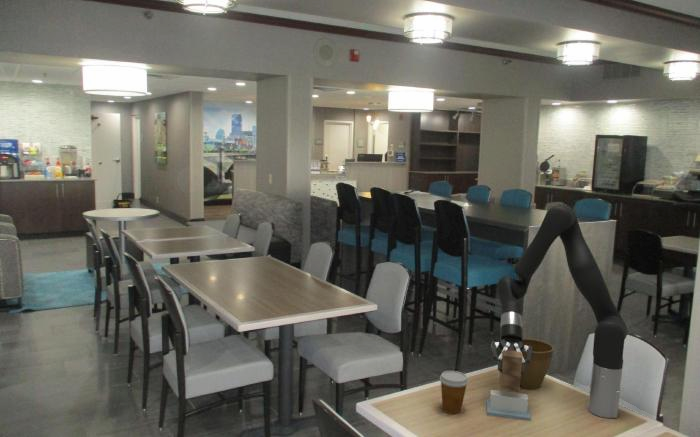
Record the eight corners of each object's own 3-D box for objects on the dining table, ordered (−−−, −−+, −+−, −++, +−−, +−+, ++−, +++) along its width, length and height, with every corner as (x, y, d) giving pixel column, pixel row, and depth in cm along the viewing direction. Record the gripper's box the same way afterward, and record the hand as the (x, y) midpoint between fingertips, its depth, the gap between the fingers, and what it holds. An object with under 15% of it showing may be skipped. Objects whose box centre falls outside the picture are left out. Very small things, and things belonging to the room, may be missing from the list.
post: (517, 384, 191) (520, 351, 189) (519, 392, 185) (522, 357, 183) (499, 382, 192) (502, 349, 190) (500, 389, 186) (503, 355, 184)
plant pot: (556, 386, 211) (560, 346, 209) (537, 397, 201) (541, 355, 199) (521, 373, 222) (524, 335, 219) (501, 383, 211) (504, 343, 209)
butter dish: (527, 407, 193) (528, 390, 192) (530, 420, 183) (532, 403, 182) (486, 401, 196) (487, 385, 195) (487, 414, 186) (488, 398, 185)
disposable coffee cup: (467, 405, 192) (470, 373, 190) (464, 418, 183) (466, 383, 181) (440, 400, 195) (442, 368, 193) (435, 412, 186) (437, 378, 184)
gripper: (491, 320, 194) (490, 365, 184) (534, 325, 191) (535, 371, 182) (489, 330, 200) (488, 374, 190) (531, 334, 197) (531, 380, 187)
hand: (511, 372), depth 186 cm, fingers closed on post, 6 cm apart
